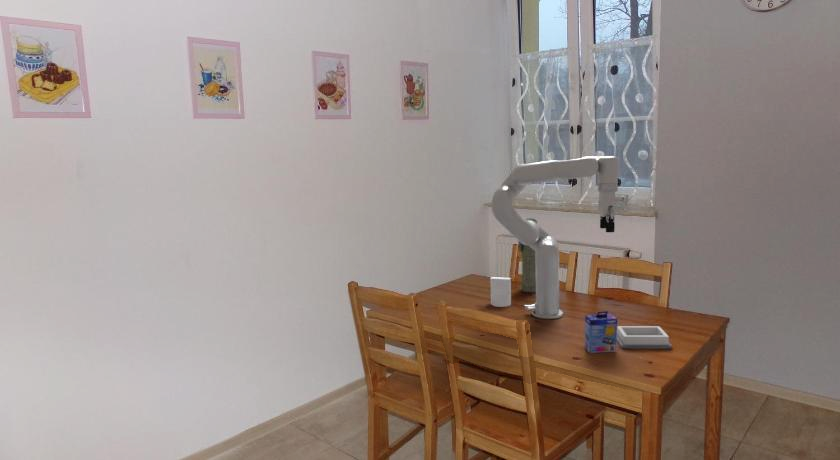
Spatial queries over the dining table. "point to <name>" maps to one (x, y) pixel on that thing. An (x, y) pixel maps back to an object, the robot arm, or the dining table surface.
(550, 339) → the dining table surface
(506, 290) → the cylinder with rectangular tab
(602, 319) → the ink cartridge box
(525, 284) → the thermos
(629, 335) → the socket stand
